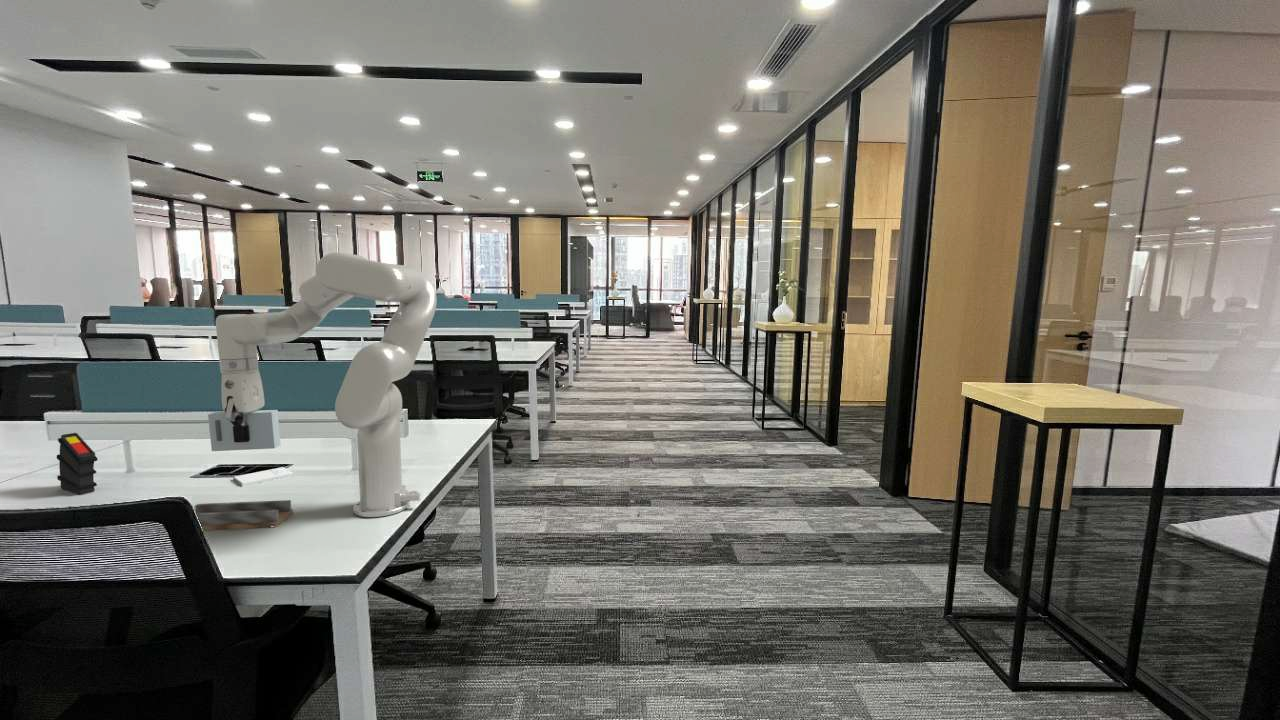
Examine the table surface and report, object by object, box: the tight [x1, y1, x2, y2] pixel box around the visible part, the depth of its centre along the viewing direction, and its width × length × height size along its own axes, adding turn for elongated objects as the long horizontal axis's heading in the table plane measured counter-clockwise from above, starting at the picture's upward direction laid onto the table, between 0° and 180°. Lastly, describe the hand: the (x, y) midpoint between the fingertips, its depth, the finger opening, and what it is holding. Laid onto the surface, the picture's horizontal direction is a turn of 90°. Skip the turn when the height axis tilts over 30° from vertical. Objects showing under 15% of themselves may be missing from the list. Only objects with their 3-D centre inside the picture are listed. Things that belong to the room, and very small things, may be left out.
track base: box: [194, 499, 294, 531], centre depth 128 cm, size 20×8×4 cm, turn 98°
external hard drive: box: [232, 466, 294, 487], centre depth 159 cm, size 2×8×12 cm
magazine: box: [56, 432, 98, 495], centre depth 147 cm, size 4×13×15 cm, turn 64°
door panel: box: [207, 409, 281, 452], centre depth 136 cm, size 14×3×9 cm, turn 98°
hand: (246, 439), depth 137 cm, fingers closed on door panel, 3 cm apart
